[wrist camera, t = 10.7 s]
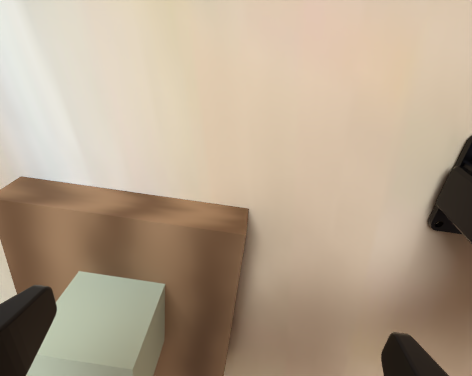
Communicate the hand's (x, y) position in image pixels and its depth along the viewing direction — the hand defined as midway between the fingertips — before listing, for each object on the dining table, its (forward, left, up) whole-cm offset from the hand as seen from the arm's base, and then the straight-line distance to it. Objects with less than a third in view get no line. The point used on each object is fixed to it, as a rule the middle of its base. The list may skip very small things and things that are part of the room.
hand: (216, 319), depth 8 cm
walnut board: (+7, +12, -13) cm, 19 cm away
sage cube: (+7, +12, -10) cm, 17 cm away
